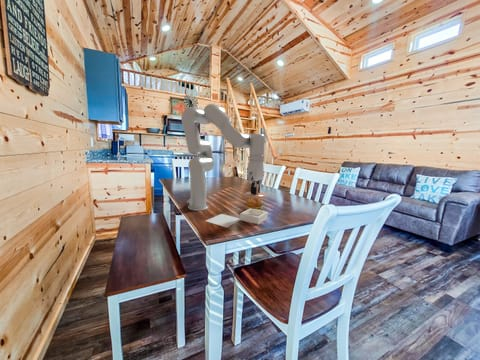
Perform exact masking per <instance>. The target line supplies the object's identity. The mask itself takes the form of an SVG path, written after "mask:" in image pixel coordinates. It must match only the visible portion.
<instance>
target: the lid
mask: <svg viewBox="0 0 480 360" xmlns="http://www.w3.org/2000/svg"><path fill="white" fill-rule="evenodd" d="M258 185H259V184H257V183H256V187H257V192H256V194H251V191H246V192H244V193H243V197H245V198H248V199H249V198H255V199H265V198H267V196H268V195H267V193H266V192H262V191H260V193H258Z"/></svg>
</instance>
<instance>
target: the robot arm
mask: <svg viewBox="0 0 480 360" xmlns="http://www.w3.org/2000/svg"><path fill="white" fill-rule="evenodd" d="M180 121H181V123H182V128H183V131H184V135H185V136H184V137H185V141H186V146H187V151H188V153H189V154H190V155H193V156H195V157H193V158H191V159H190V160H189V162H188V170H189V178H190V182H189V183H190V184H189V185H190V198H189V199H188V200H187V201H186V203H189V205H188V206H187V209H189V210H190V211H198V212H199V211H204V210H207V209H209V205H208V204H207V177H206V174H205V172H206V173H207V172H211V171H212V170H213V169H214V167H215V159H214V154H213V149H212V146H211V145H212V144H211V143H210V142H209V141H208V140H207V139H203V138H201V136H200V131H199V128H198V126H197V125H196V124H204V125H209V124H213V125H214V126H215V127H216V128H217V129H218V130H219V131H220V134H221V135H222V137H223V138H224V140H226V142H228V143H229V144H230V145H231V146H232V147H234V148H236V149H249V155H248V158H249V159H248V164H247V171H246V173H247V174H246V179H247V180H246V181H247V182H248V184H249V185H250V192H251V194H256V192H257V187H256V183H257V184H259V185H258V193H260V192H261V183H262V181H263V179H264V170H265V169H264V162H265V146H266V144H265V143H266V136H265V135H264V134H262V133H252V134H250V133H243V132H240V131H238V130H237V129H236V128H235V127H234V126H233V125H232V122H233V121H232V118H231V117H230V116H229V115H227V111H226V110H225V108H224V107H222V106H220V105H218V104H215V103H209V104H207V105H206V106H204V108H203V109H202V108H199V107H195V106H189V107H186V108H185V109H184V110H183V111H182V113H181V120H180Z"/></svg>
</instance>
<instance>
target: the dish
mask: <svg viewBox="0 0 480 360" xmlns="http://www.w3.org/2000/svg"><path fill="white" fill-rule="evenodd" d="M268 216H269V212H268V211H265V210H262V211H261V210H256V209H252V208H250V209H246V210H244V211H242V212H240V214H239V218H240V221H243V222H247V223H251V224H254V225H260V224H262V223H263V222H265V221H266V220H268V219H269V217H268Z"/></svg>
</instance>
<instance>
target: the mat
mask: <svg viewBox="0 0 480 360" xmlns="http://www.w3.org/2000/svg"><path fill="white" fill-rule="evenodd" d="M240 221H241V220H240V217H235V216H232V215H227V214H224V213H220V214H218V215H215V216H213V217H211V218H208V219H206V220H205V222H208V223H210V224H214V225H217V226H221V227H224V228H229V227H230V226H232V225H234V224H236V223H238V222H240Z"/></svg>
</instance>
